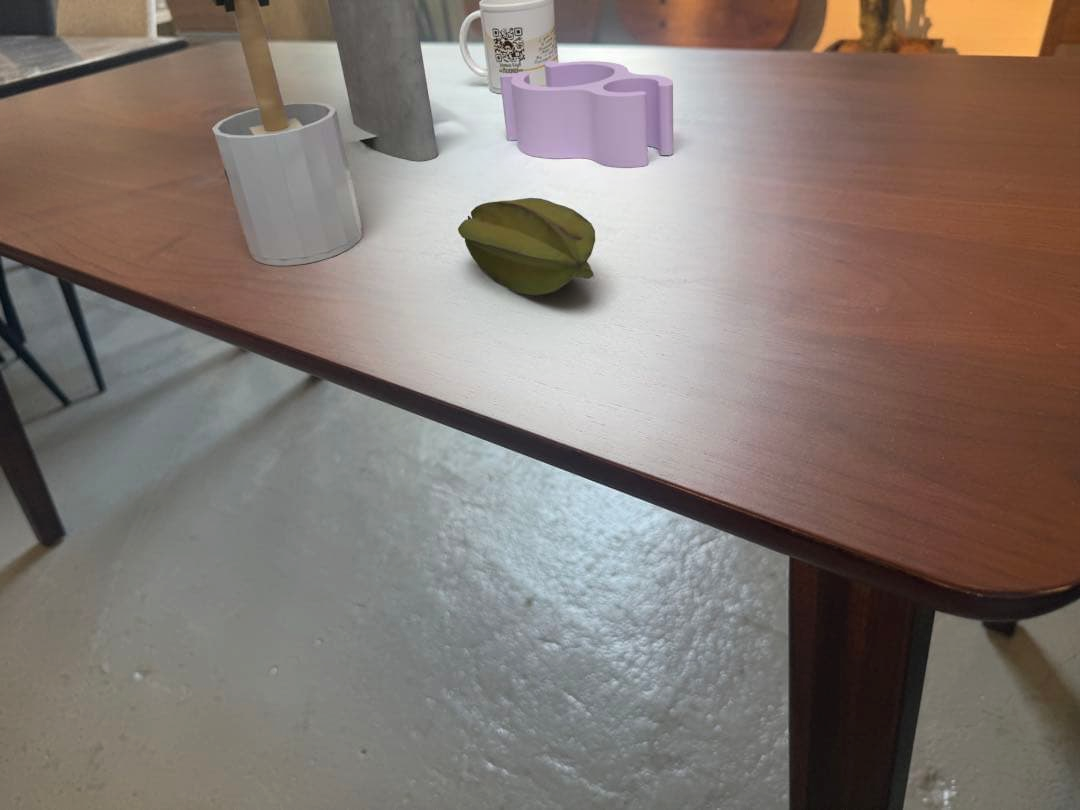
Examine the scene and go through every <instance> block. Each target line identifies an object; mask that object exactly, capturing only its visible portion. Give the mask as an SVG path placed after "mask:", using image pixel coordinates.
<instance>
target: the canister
mask: <svg viewBox="0 0 1080 810" xmlns="http://www.w3.org/2000/svg"><path fill="white" fill-rule="evenodd" d="M283 105H284V109H285V113H286V117H287V120H288V119H293V118H296V119H297V120H298V121H299V122H300V123H301V124H302V125H303V126H302V127H299V128H295V129H290V130H285V131H281V132H276V133H269V134H259V135H251V133H250V130H249V127H254V126H259V125H263V123H262V119H261V115H260V111H259V108H258V107H256V108H252V109H248V110H244V111H242V112H238V113H235V114H232V115H230V116H228V117H226V118H224V119H222V120H219V121H218V122H217V123H216V124H215V125H214V126H212V128H211V130H212V134H213V137H214V140H215V144H216V147H217V150H218V153H219V158H220V161H221V163H222V167H223V171H224V173H225V177H226V180H227V184H228V187H229V190H230V194H231V197H232V200H233V203H234V207H235V210H236V213H237V214H236V215H237V217H238V220H239V223H240V227H241V230H242V233H243V236H244V241H245V243H246V246H247V249H248V251H249V254H250V257H251V258H252V260H254V261H256V262H257V263H259V264H263V265H268V266H275V267H276V266H277V267H289V266H298V265H299V266H300V265H307V264H312V263H316V262H319V261H323V260H326V259H327V260H328V259H330V258H333V257H335V256H337V255H340V254H343V253H344V252H346V251H348V250H350V249H351V248H353V247H354V246H355V245H357V244H358V243H359V242H360V241H361V240H362V236H363V230H362V225H363V224H362V221H361V216H360V211H359V207H358V202H357V197H356V193H355V187H354V183H353V180H352V175H351V171H350V166H349V162H348V157H347V151H346V148H345V143H344V139H343V133H342V130H341V129H342V128H341V125H340V121H339V116H338V111H337V109H336V108H335V107H334V106H333V105H332V104H330V103H324V102H320V101H296V102H295V101H294V102H288V103H283Z"/></svg>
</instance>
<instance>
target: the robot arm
mask: <svg viewBox="0 0 1080 810" xmlns="http://www.w3.org/2000/svg"><path fill="white" fill-rule="evenodd" d="M211 1H212V2H213V3H214V4H215V6H216V7H221V6H223V9H224V11H225V13H231V12H232V13H233V11H235V5H234V0H211ZM257 2H258V6H259V8H261V7H263V8H264V7H267V6H268V7H269V6H270V0H257Z"/></svg>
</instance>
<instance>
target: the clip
mask: <svg viewBox="0 0 1080 810" xmlns="http://www.w3.org/2000/svg"><path fill="white" fill-rule="evenodd" d="M544 64H545V76H546V87H540V86H533V85H530V80H529V74H527V73H514V74H503V75H500V82H501V91H502V94H501V99H502V107H503V117H504V125H505V134H506V140H507V141H517V147H518V150H519V151H520V152H521V153H523V154H526V155H528V156H531V157H536V158H541V159H542V158H543V159H559V160H560V159H561V160H562V159H587V160H592V161H594V162H596V163H597V164H599V165H602V166H606V167H611V168H640V167H646V166H648V165H649V149H648V147H649V146H651V147H650V148H653V147H655V148H654V149H656V148H658V149H659V150H658V149H657V150H658V151H659V152H658V153H659V154H660V155H659V156H661V155H670V154H672V153H673V154H674V81H673V79H671V78H669V77H667V76H663V75H655V74H639V73H633V72H630V71H629V69H628V68H627V67H626V66H625V65H622V64H621V63H620V64H619V63H616V62H609V61H597V60H592V61H591V60H585V61H583V60H582V61H581V60H580V61H569V62H568V61H567V62H558V63H557V61H547V62H544ZM670 156H671V155H670Z"/></svg>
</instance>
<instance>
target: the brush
mask: <svg viewBox="0 0 1080 810" xmlns="http://www.w3.org/2000/svg"><path fill="white" fill-rule="evenodd" d="M234 5H235V11H232V14H233V19H234V22H235V25H236V29H237V30H236V31H237V33H238V37H239V42H240V44H241V48H242V51H243V55H244V59H245V63H246V67H247V70H248V74H249V78H250V81H251V85H252V88H253V93H254V96H255V100H256V104H257V108H259V111H260V115H261V119H262V123H263V125H259V126H254V127H249V130H250V133H251V135H259V134H269V133H276V132H281V131H285V130H290V129H295V128H299V127H302V126H303V125H302V124H301V123H300V122H299V121H298V120H297V119H296V118H293V119H288V120H287V117H286V113H285V109H284V105H283V104H284V102H283V98H282V94H281V93H282V92H281V90H280V85H279V81H278V78H277V75H276V70H275V66H274V62H273V57H272V54H271V50H270V45H269V43H268V39H267V35H266V30H265V27H264V22H263V19H262V14H261V11H260V5H259V3H258V0H234Z"/></svg>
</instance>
